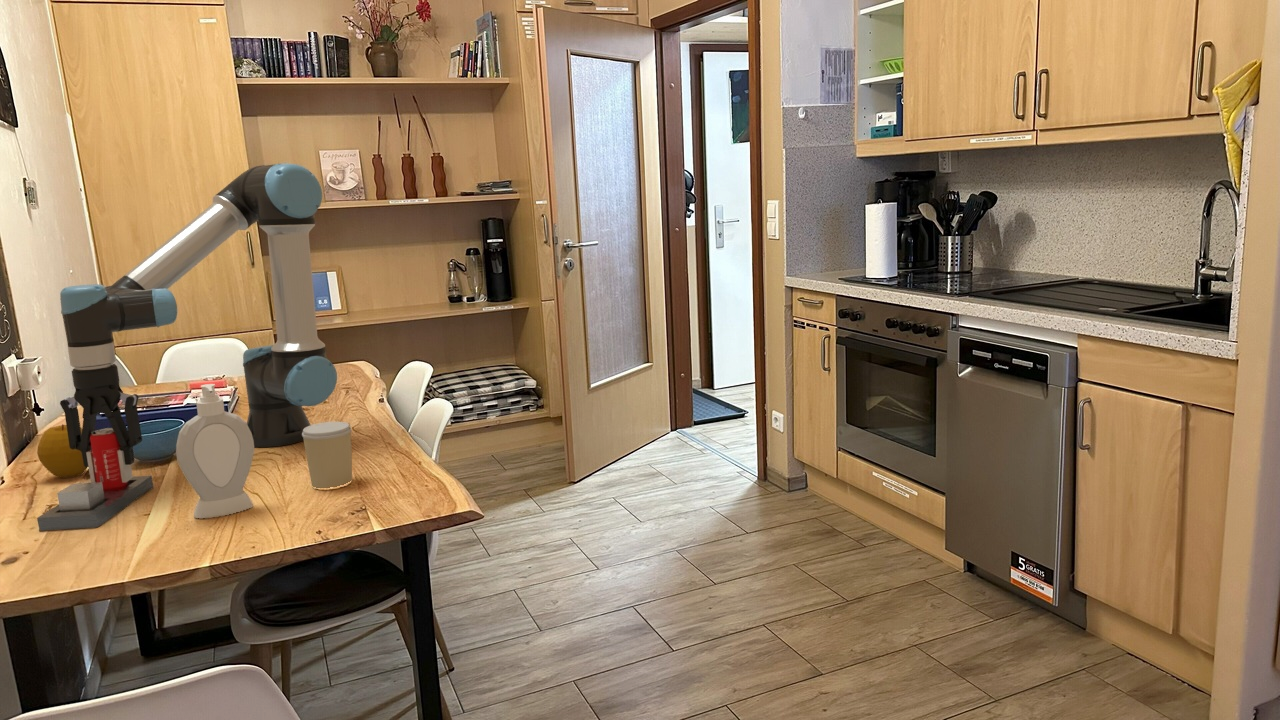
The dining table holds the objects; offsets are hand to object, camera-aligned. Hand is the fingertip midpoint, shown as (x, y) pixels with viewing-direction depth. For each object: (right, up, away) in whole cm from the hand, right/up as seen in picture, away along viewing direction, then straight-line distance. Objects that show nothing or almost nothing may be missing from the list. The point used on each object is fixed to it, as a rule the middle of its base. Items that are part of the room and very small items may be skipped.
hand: (112, 480), depth 172 cm
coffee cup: (+42, -2, +5) cm, 42 cm away
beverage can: (0, -2, 0) cm, 2 cm away
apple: (-18, -1, +15) cm, 24 cm away
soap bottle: (+27, -5, -10) cm, 29 cm away
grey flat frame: (+1, -4, -5) cm, 7 cm away
